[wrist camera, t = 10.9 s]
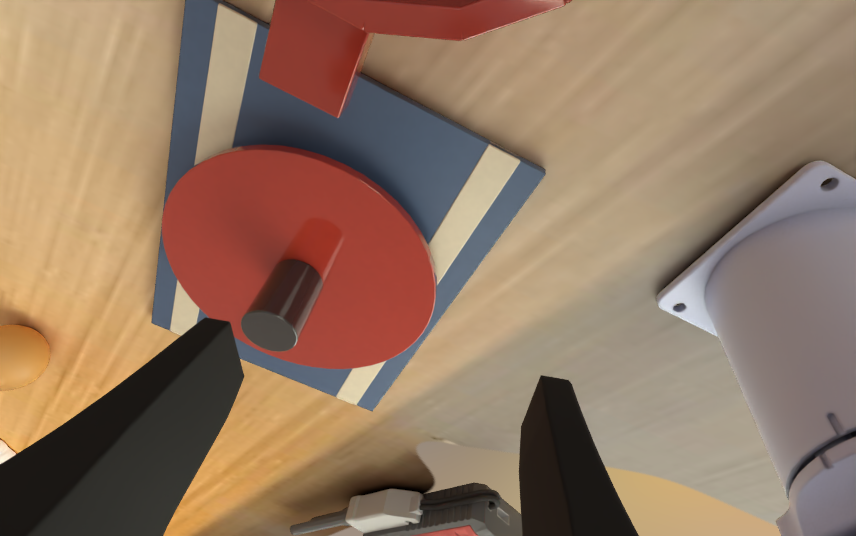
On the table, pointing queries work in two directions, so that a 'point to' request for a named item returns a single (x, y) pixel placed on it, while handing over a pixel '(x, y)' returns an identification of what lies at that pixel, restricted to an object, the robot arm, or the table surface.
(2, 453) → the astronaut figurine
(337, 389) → the towel
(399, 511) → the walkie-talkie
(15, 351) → the figurine
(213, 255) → the lid
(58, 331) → the table surface
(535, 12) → the pot
